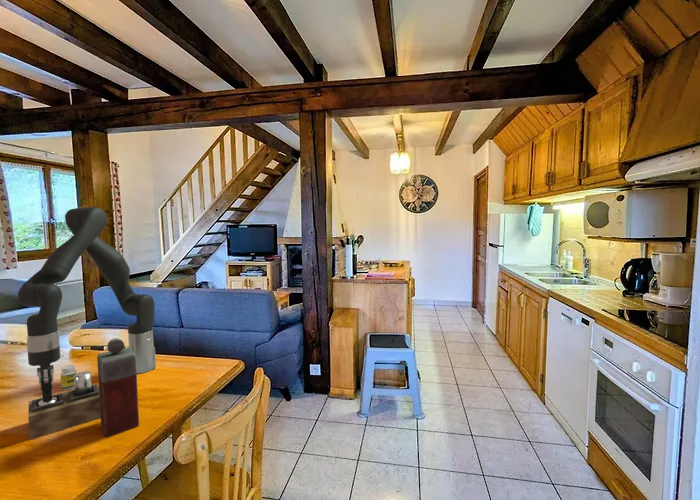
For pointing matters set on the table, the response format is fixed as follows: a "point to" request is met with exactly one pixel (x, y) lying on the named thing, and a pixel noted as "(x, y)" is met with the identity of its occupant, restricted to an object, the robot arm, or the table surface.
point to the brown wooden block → (63, 412)
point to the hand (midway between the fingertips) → (47, 400)
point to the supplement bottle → (68, 377)
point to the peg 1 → (47, 401)
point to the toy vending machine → (117, 388)
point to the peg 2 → (82, 383)
